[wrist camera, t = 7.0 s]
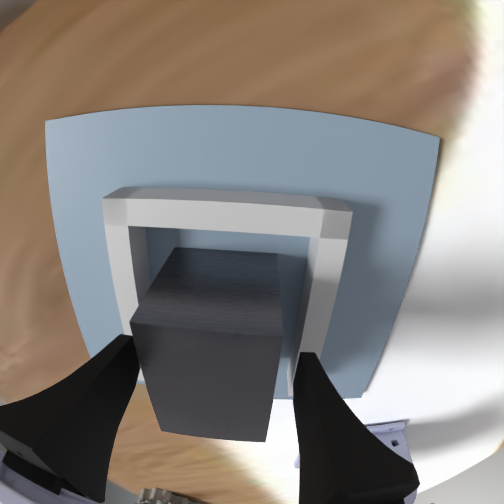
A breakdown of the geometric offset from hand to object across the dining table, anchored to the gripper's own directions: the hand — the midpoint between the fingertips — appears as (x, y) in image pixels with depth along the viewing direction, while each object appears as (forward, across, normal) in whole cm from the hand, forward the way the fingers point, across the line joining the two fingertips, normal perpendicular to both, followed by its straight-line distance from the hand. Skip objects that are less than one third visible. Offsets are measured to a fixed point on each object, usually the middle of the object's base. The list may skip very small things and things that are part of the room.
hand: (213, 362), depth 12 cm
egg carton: (+5, +9, +42) cm, 43 cm away
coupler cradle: (+5, 0, 0) cm, 5 cm away
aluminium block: (+4, 0, 0) cm, 4 cm away
